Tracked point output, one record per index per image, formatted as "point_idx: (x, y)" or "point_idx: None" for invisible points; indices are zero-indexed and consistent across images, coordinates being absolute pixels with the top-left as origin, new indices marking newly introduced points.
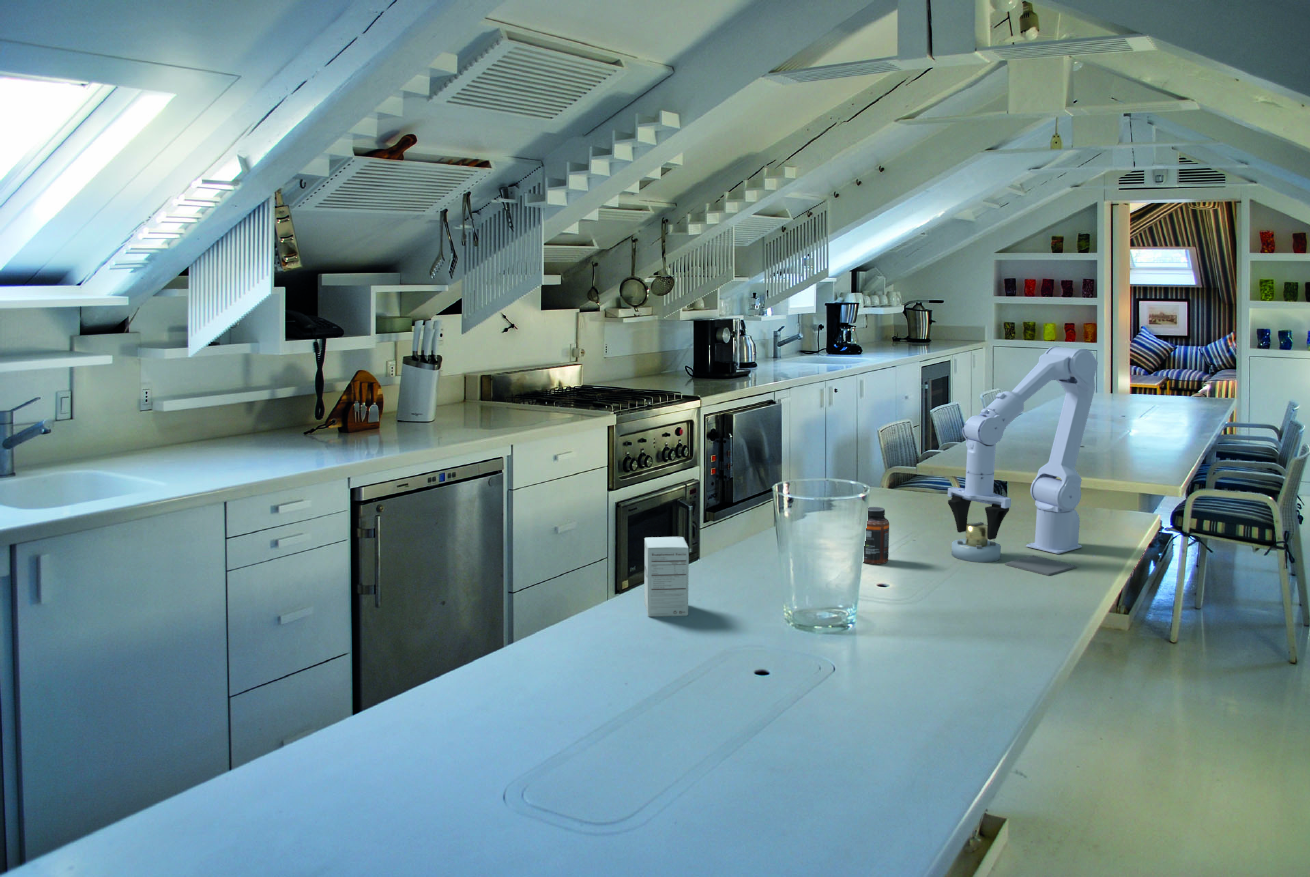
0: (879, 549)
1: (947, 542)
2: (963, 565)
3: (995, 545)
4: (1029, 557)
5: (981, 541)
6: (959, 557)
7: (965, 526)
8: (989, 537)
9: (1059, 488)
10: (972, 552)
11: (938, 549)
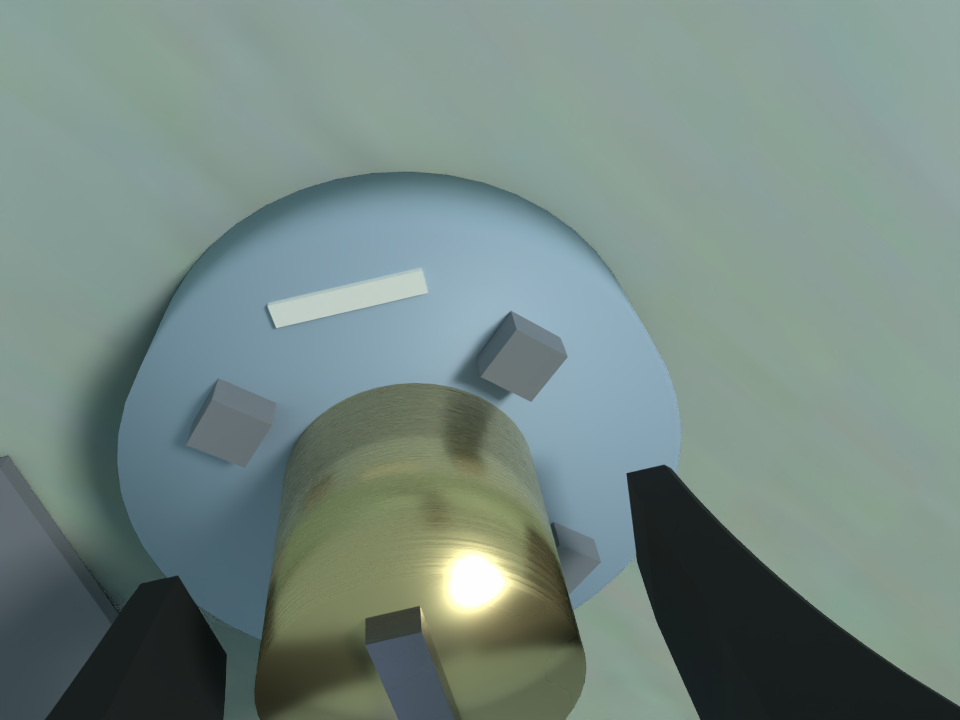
0: None
1: (899, 455)
2: (74, 19)
3: None
4: None
5: (280, 517)
6: (362, 182)
7: (656, 608)
8: (133, 603)
9: None
10: (199, 291)
11: (795, 229)
